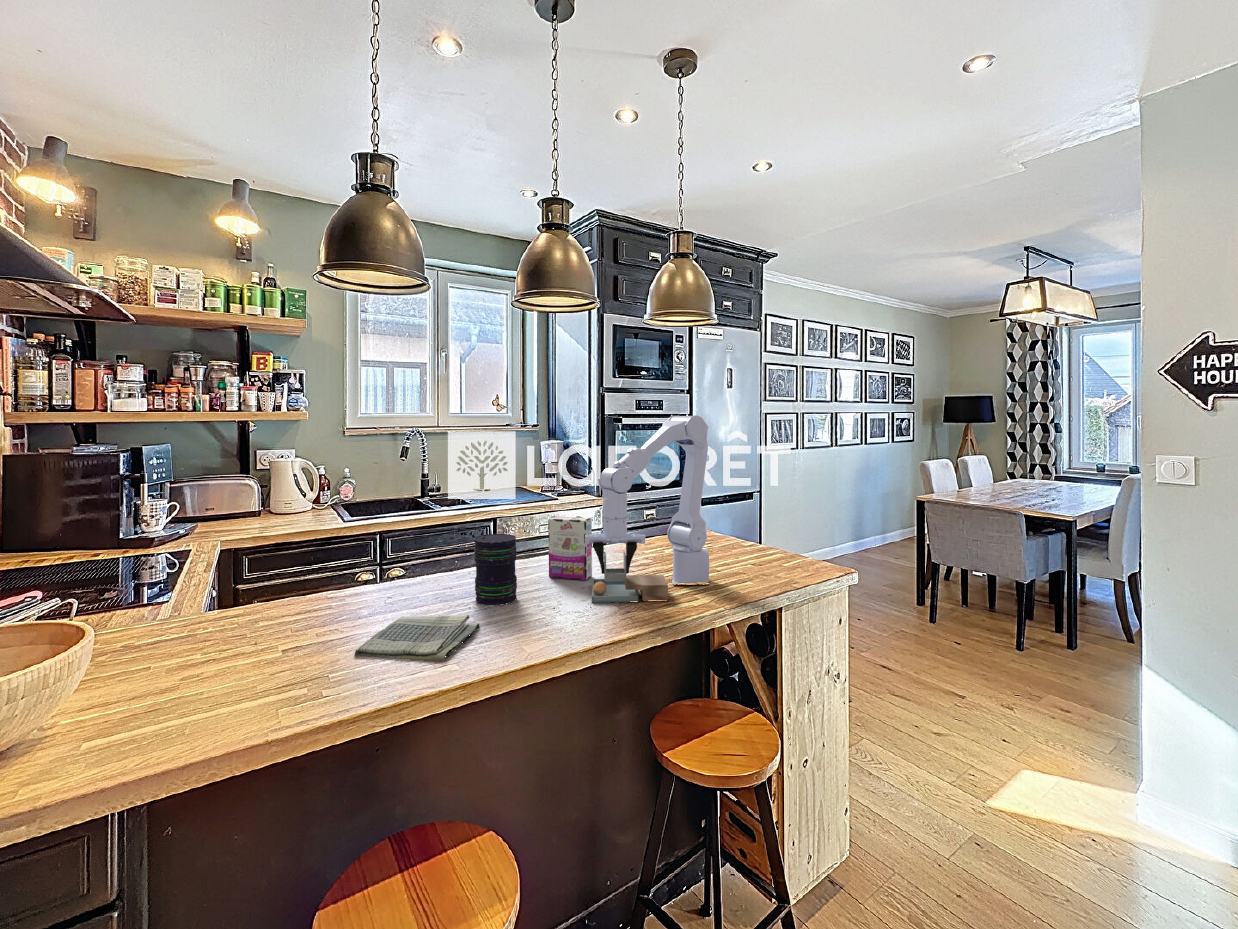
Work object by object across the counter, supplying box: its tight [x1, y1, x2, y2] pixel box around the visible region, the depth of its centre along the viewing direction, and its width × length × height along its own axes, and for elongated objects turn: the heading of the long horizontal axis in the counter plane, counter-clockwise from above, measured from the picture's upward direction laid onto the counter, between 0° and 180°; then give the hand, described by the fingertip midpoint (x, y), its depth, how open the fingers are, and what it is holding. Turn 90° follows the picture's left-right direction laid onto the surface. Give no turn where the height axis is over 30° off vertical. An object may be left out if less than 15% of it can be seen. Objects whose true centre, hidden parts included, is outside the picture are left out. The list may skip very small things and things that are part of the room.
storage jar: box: [473, 533, 518, 606], centre depth 139 cm, size 10×10×15 cm
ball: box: [593, 582, 606, 595], centre depth 142 cm, size 3×3×3 cm
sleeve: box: [603, 551, 627, 582], centre depth 142 cm, size 5×5×6 cm
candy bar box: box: [547, 516, 593, 581], centre depth 159 cm, size 11×5×16 cm, turn 73°
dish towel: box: [354, 614, 481, 662], centre depth 114 cm, size 19×18×3 cm
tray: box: [591, 578, 639, 604], centre depth 145 cm, size 11×15×2 cm
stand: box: [624, 574, 669, 601], centre depth 142 cm, size 10×9×4 cm
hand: (615, 572), depth 142 cm, fingers closed on sleeve, 5 cm apart
